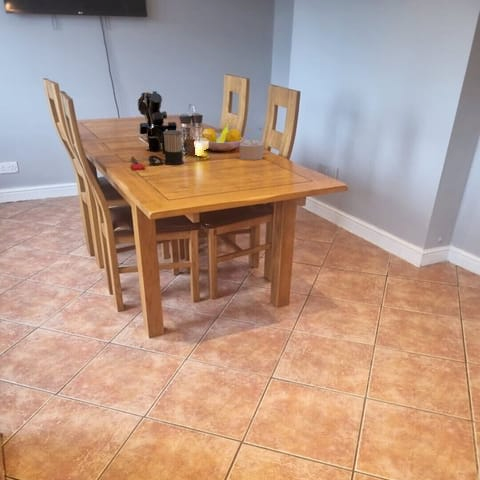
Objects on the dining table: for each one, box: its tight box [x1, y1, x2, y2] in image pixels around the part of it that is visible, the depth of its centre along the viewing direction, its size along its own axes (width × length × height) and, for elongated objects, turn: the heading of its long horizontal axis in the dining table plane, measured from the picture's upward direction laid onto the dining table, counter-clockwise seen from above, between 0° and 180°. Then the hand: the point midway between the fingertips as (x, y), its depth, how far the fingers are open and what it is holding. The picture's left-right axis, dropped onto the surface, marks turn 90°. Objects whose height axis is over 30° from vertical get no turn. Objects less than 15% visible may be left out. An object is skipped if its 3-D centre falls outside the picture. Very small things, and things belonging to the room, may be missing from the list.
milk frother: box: [147, 130, 184, 166], centre depth 224 cm, size 14×16×15 cm
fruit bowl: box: [201, 123, 245, 152], centre depth 257 cm, size 28×27×11 cm
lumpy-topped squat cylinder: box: [238, 138, 265, 161], centre depth 240 cm, size 10×13×9 cm
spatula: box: [130, 156, 146, 171], centre depth 224 cm, size 21×6×1 cm, turn 19°
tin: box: [183, 137, 201, 158], centre depth 242 cm, size 15×3×8 cm, turn 47°
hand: (161, 142), depth 232 cm, fingers closed
